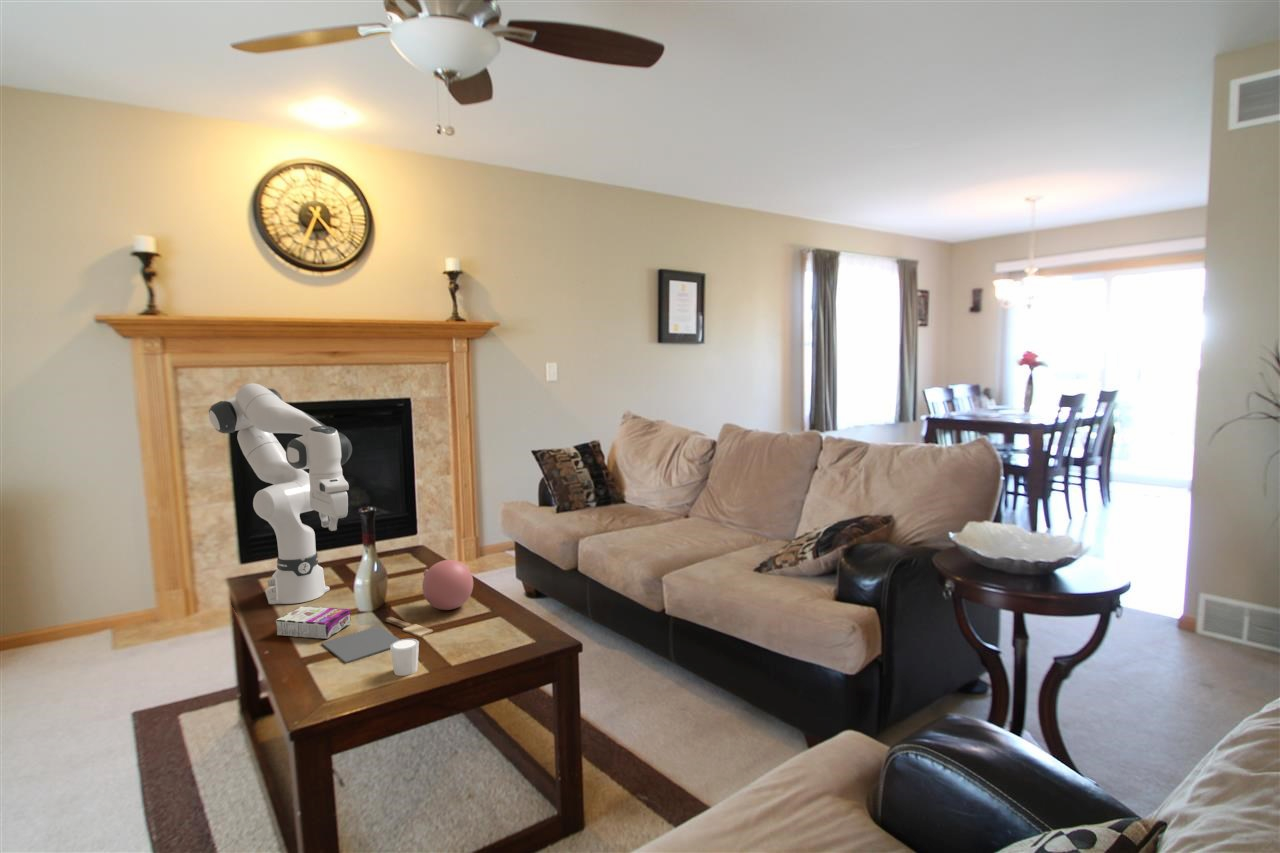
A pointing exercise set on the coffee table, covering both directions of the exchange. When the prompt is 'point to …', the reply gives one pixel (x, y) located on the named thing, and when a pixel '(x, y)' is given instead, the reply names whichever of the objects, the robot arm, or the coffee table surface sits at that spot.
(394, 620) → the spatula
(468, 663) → the coffee table surface
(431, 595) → the rose rubber ball
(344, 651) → the mat
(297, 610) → the candy bar box
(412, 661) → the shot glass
